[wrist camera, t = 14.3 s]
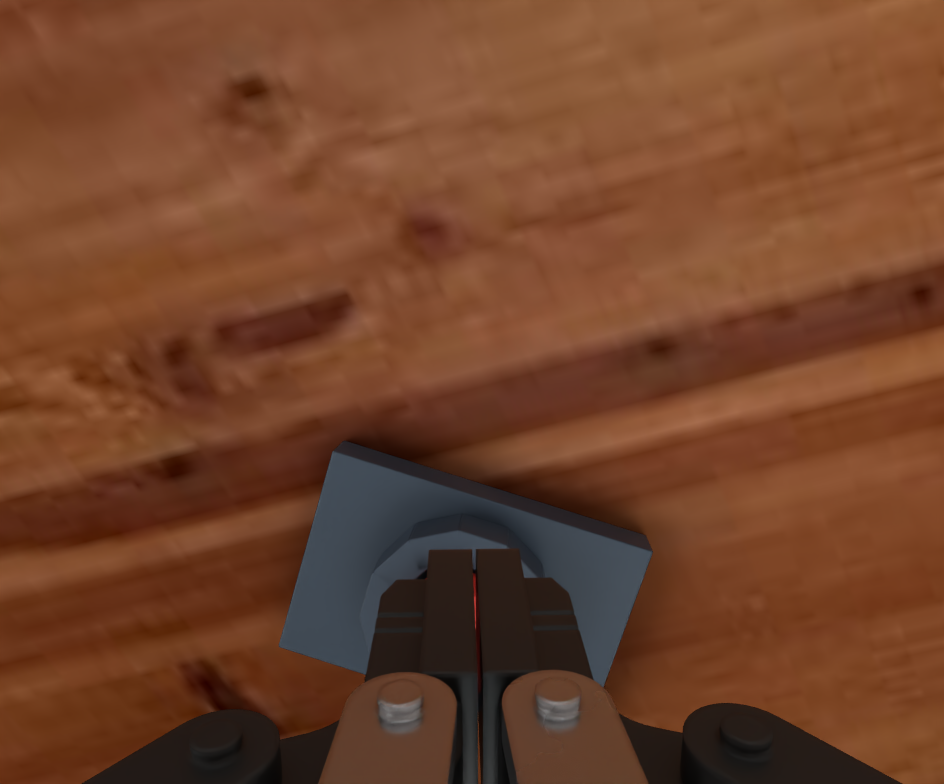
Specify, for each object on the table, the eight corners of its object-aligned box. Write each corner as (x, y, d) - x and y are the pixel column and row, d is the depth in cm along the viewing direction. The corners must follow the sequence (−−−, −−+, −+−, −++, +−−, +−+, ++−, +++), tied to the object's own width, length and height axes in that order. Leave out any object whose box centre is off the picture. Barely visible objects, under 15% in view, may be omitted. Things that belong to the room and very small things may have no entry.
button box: (291, 626, 31) (261, 672, 27) (343, 439, 29) (318, 463, 26) (579, 718, 31) (586, 776, 27) (646, 535, 29) (662, 571, 26)
